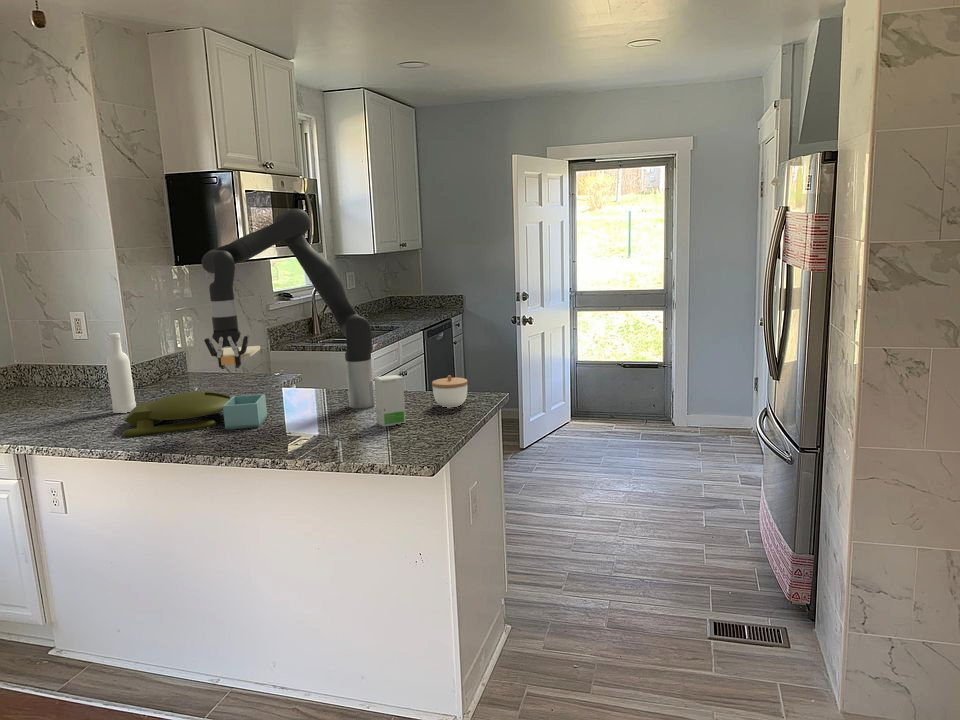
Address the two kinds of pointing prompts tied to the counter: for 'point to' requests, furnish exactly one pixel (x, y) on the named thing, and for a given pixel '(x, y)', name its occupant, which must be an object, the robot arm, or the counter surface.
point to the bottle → (120, 377)
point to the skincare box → (389, 400)
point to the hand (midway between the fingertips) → (230, 368)
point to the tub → (245, 411)
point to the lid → (229, 354)
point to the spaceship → (175, 412)
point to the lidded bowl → (450, 391)
